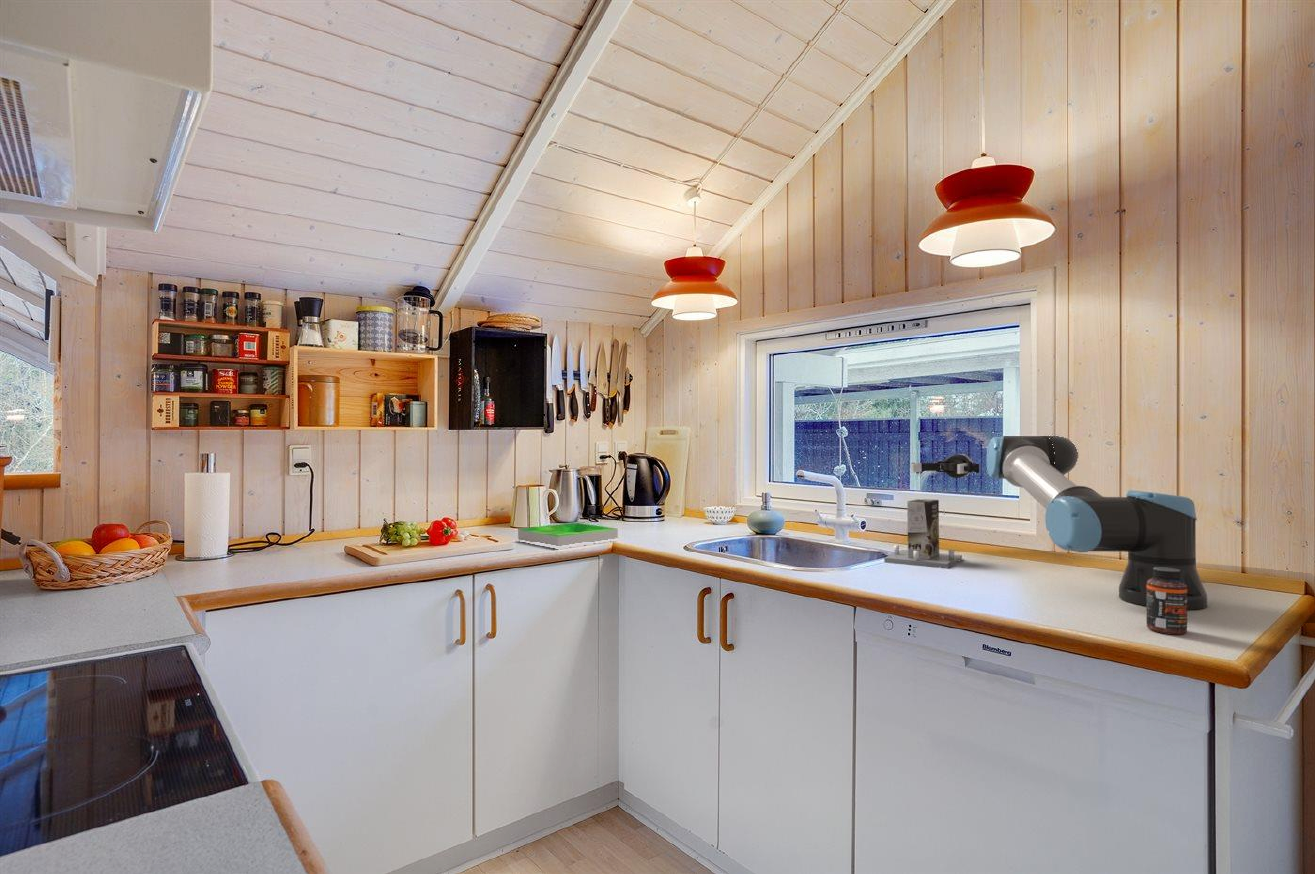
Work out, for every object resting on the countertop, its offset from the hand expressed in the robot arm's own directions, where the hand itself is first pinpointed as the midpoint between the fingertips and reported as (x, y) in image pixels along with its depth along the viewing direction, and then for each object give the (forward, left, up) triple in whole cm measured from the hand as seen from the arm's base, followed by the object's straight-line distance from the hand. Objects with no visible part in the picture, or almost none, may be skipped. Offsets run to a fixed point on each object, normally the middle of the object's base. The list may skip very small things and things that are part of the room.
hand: (934, 468), depth 202 cm
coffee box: (-10, +1, -25) cm, 27 cm away
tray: (-39, +114, -27) cm, 123 cm away
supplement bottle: (-57, -55, -26) cm, 83 cm away
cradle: (-10, +1, -26) cm, 28 cm away
